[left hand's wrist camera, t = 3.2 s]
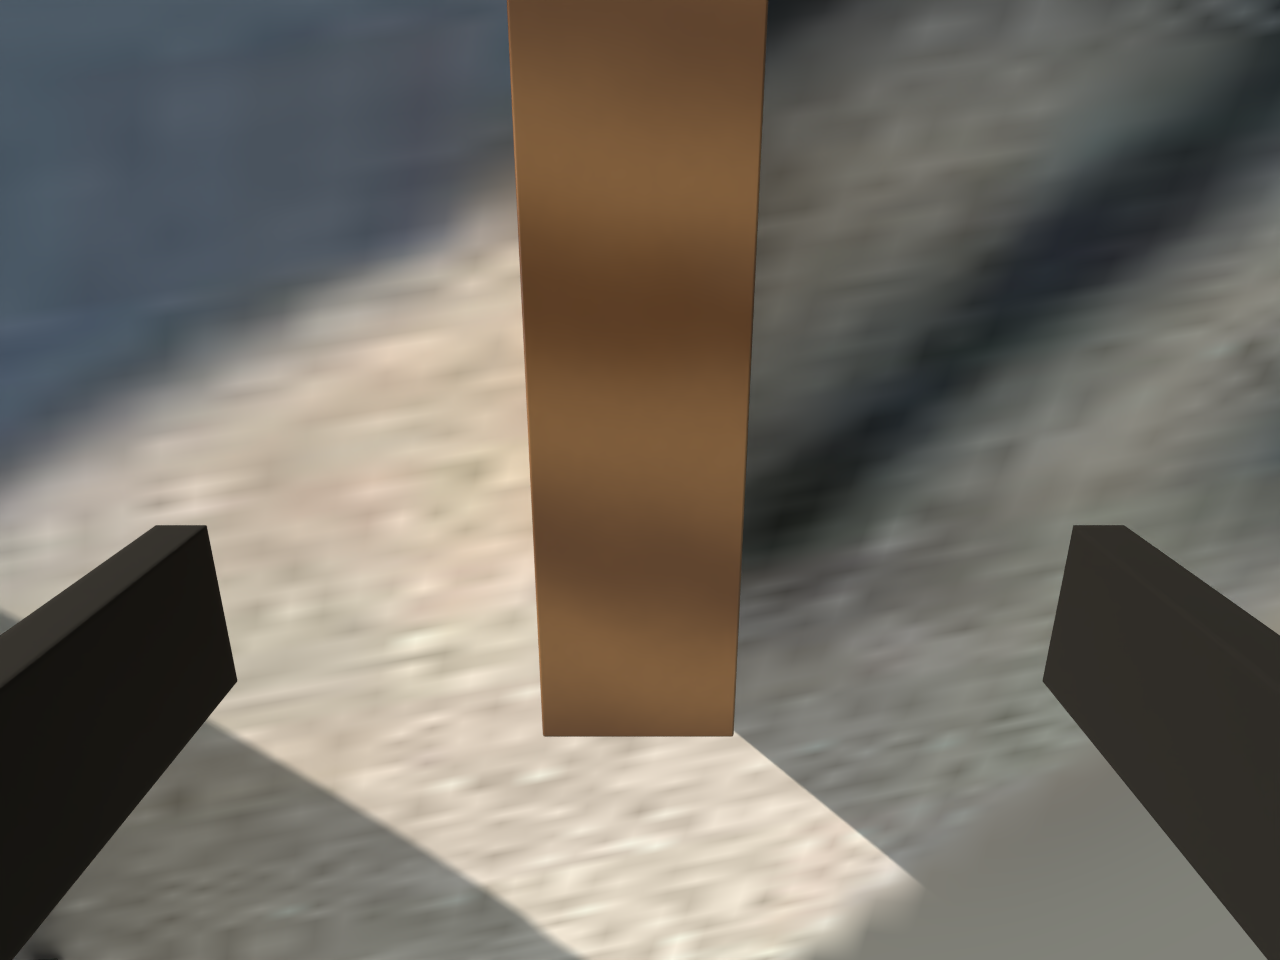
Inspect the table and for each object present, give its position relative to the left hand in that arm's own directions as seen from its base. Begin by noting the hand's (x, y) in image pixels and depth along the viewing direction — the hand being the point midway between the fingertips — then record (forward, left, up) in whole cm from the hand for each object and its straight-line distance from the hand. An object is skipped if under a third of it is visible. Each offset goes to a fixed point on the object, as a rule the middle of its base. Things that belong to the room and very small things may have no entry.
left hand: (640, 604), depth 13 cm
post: (+3, +28, -14) cm, 32 cm away
